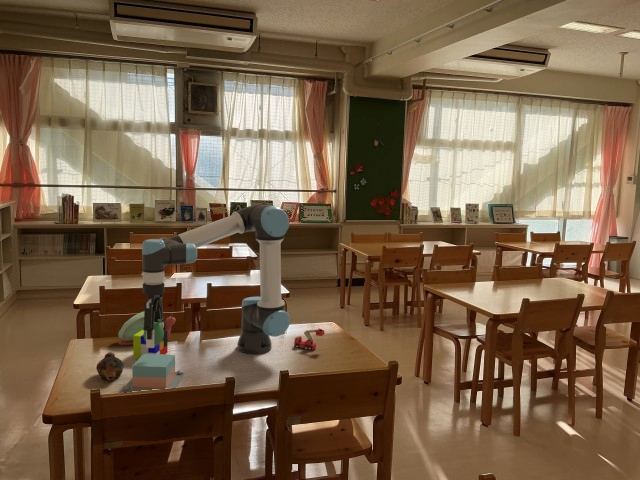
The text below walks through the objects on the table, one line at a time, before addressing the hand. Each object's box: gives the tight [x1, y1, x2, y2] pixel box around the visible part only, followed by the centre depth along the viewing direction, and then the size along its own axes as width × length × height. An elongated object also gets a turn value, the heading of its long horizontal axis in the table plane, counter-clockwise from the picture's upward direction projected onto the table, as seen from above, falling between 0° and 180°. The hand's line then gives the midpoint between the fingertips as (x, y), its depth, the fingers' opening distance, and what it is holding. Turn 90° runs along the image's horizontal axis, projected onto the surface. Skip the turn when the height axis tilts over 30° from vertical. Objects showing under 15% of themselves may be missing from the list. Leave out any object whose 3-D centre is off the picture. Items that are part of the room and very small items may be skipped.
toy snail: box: [117, 311, 177, 346], centre depth 239 cm, size 25×8×14 cm, turn 116°
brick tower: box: [120, 354, 186, 392], centre depth 195 cm, size 18×18×9 cm
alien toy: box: [144, 319, 164, 346], centre depth 193 cm, size 7×8×10 cm
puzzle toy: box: [132, 330, 169, 360], centre depth 222 cm, size 10×10×10 cm
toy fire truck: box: [293, 328, 325, 351], centre depth 237 cm, size 3×14×10 cm, turn 68°
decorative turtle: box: [96, 351, 125, 381], centre depth 199 cm, size 10×15×8 cm, turn 28°
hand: (153, 343), depth 194 cm, fingers closed on alien toy, 8 cm apart
